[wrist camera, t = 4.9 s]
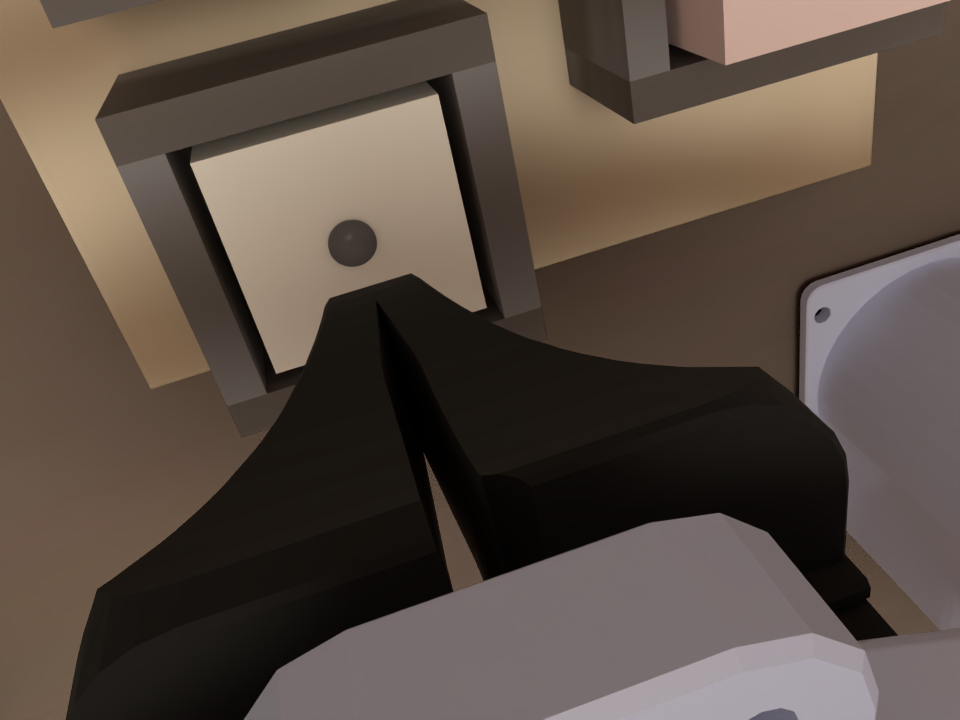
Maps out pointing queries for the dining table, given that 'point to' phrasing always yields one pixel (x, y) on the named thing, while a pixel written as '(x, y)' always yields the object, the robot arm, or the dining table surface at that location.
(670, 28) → the tile three
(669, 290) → the dining table surface
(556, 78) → the console
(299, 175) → the tile one
